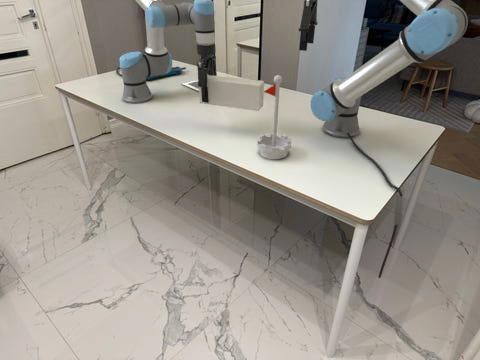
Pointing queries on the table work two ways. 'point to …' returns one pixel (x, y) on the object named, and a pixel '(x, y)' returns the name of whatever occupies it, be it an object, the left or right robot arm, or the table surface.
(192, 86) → the tablet
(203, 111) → the table surface
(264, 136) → the flag stand
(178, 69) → the submachine gun
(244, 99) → the box
